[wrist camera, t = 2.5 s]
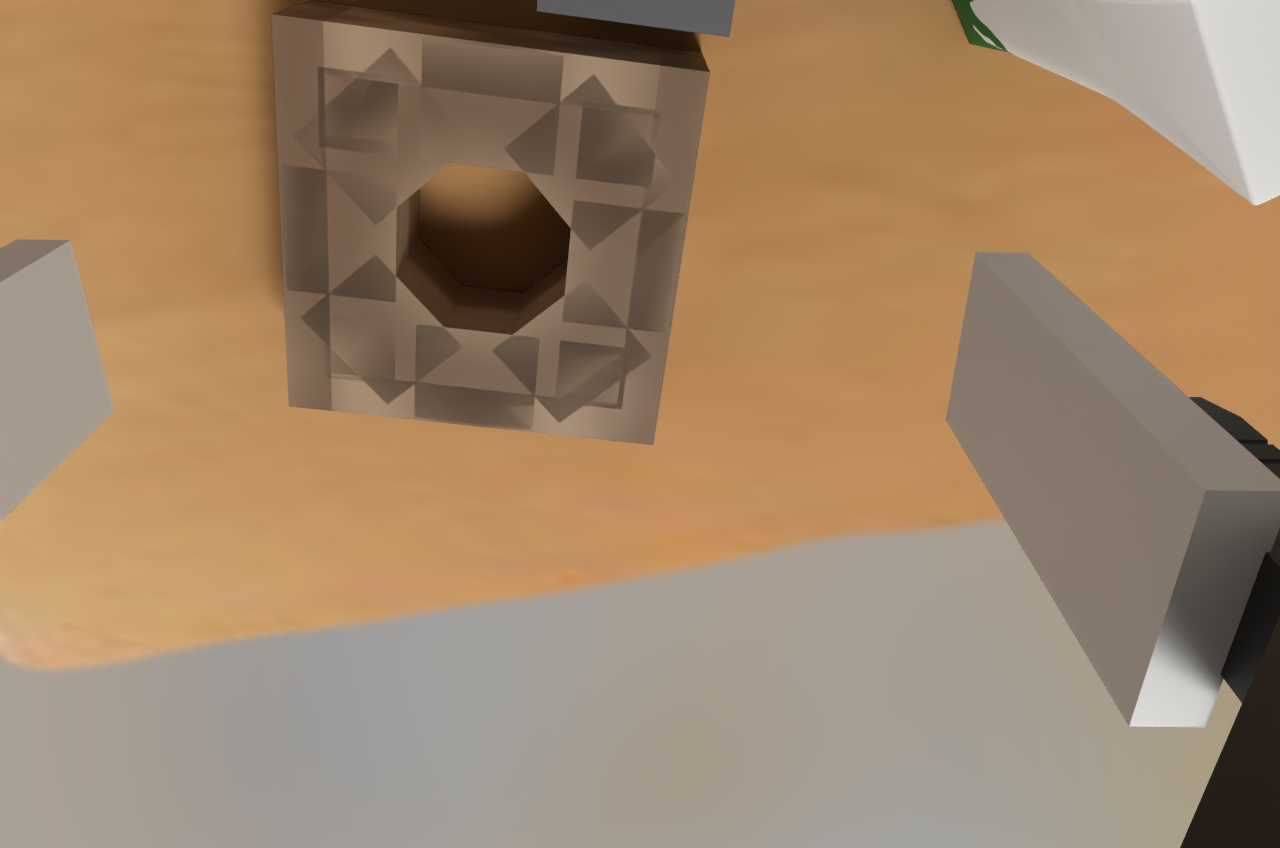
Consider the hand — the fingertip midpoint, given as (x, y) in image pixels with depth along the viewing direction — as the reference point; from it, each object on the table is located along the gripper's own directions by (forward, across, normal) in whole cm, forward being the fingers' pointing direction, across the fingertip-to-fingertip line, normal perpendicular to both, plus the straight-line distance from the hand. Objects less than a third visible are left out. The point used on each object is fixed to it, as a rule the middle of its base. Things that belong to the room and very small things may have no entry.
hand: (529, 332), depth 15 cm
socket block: (+22, -3, -4) cm, 23 cm away
